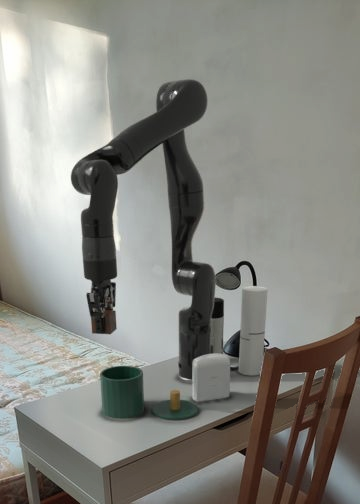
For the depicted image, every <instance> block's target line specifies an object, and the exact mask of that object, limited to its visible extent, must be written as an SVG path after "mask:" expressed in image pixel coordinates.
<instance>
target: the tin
mask: <svg viewBox="0 0 360 504" xmlns="http://www.w3.org/2000/svg"><path fill="white" fill-rule="evenodd" d="M99 380H100V381H99V383H100V394H101V408H102V409H101V410H102V414H103V415H104V416H106V417H108V418H112V419H116V420H117V419H118V420H123V419H126V420H127V419H133V418H135V417H138V416H140V415H142V414H143V413H144V412H145V393H144V390H145V389H144V370H142V369H141V368H139V367H138V366H137V367H136V366H131V365H115V366H110V367H106V368H104V369H103V370H101V371H100V372H99Z"/></svg>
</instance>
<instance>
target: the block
mask: <svg viewBox="0 0 360 504" xmlns="http://www.w3.org/2000/svg"><path fill="white" fill-rule="evenodd" d="M97 312H98V311H97ZM116 313H117V312H116V310H115V309H113V310H105V317H104V318H105V329H106V332H105V333H104V334H103V335H112V334H113V333H114V332H115V331H116V330H117V327H118V326H117V314H116ZM90 324H91V333H92V334H93V335H94V334H95V335H98V334H97V333H96V328H95V318H94V317H90Z"/></svg>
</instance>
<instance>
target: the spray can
mask: <svg viewBox="0 0 360 504" xmlns="http://www.w3.org/2000/svg"><path fill="white" fill-rule="evenodd" d="M224 320H225V300H224V299H223V298H222V297H215V298H214V309H213V312H212V316H211V345H213V354H215V353H217V354H224V325H225V323H224Z"/></svg>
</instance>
